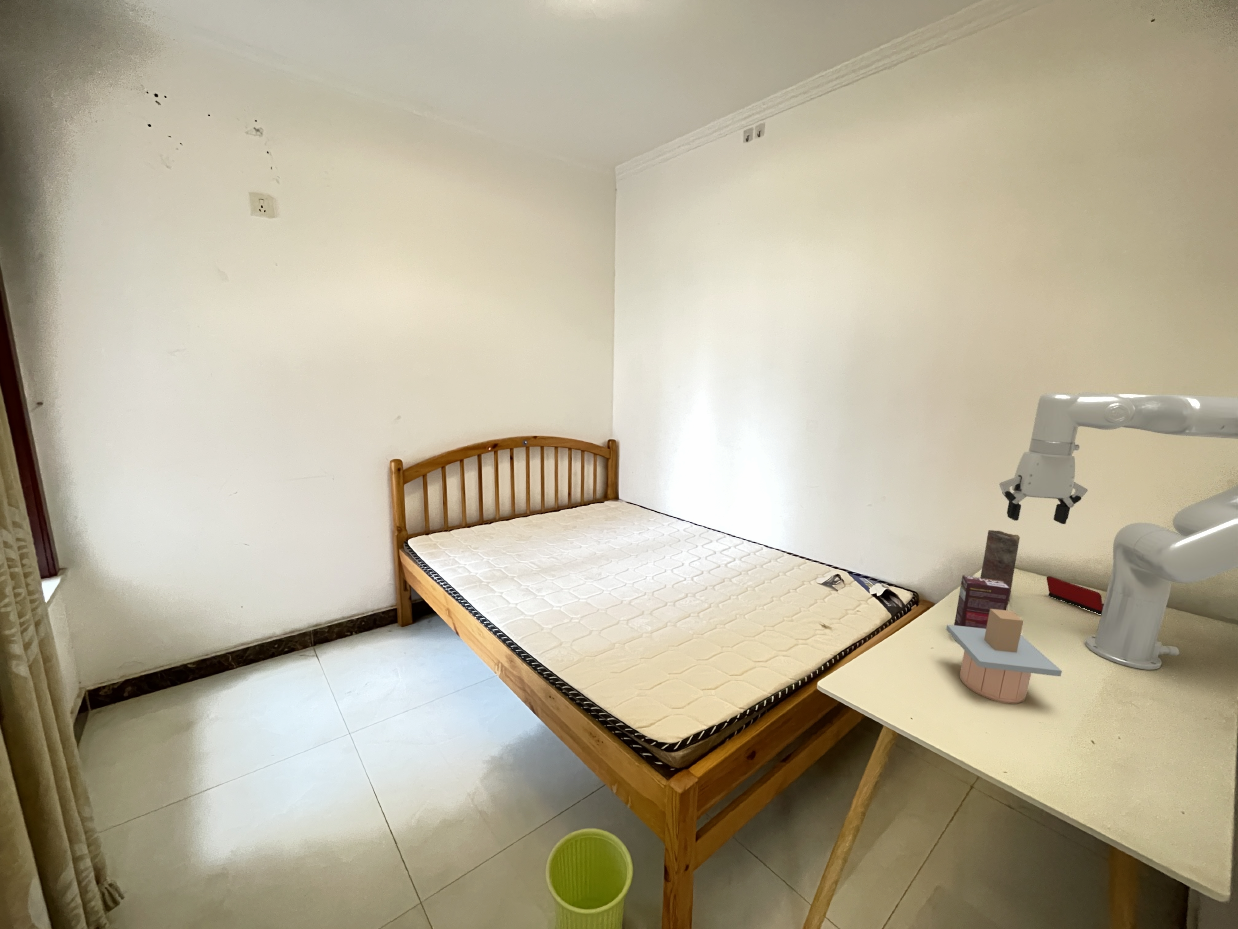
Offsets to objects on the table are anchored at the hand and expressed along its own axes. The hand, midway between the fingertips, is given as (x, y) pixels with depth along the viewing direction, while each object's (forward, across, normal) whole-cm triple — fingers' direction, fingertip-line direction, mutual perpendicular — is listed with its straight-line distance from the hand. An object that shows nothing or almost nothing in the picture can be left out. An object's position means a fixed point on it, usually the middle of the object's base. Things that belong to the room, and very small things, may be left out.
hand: (1035, 520), depth 116 cm
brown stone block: (+31, -7, -23) cm, 39 cm away
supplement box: (+31, +10, +4) cm, 32 cm away
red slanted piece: (+31, -30, -25) cm, 49 cm away
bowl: (+30, +15, +22) cm, 40 cm away
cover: (+22, +15, +22) cm, 35 cm away
